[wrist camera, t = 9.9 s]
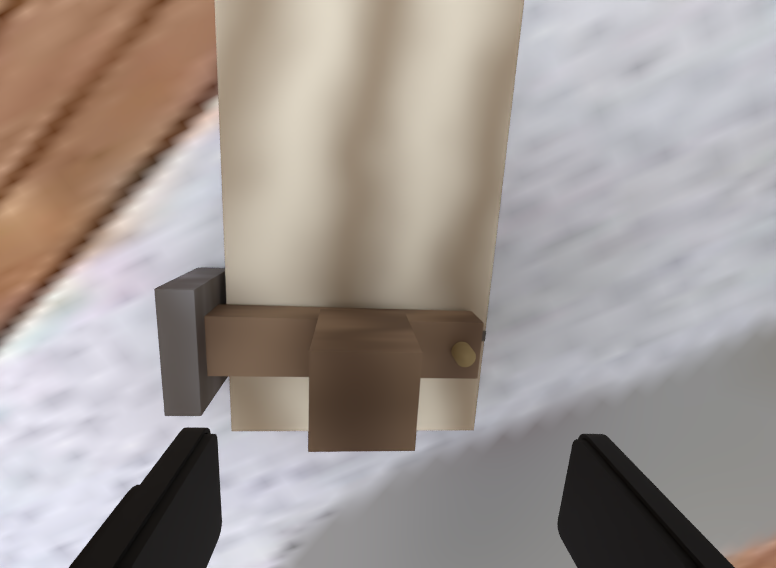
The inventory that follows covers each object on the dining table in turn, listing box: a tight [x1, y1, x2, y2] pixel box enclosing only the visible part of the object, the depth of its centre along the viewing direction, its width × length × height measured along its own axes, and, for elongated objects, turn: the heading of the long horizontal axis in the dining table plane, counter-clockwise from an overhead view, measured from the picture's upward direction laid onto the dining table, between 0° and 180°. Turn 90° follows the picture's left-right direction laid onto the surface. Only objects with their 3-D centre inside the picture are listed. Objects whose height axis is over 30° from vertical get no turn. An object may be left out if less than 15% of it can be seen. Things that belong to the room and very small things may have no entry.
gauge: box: [154, 268, 484, 452], centre depth 18 cm, size 15×6×9 cm, turn 87°
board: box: [215, 0, 524, 431], centre depth 21 cm, size 14×26×2 cm, turn 177°
